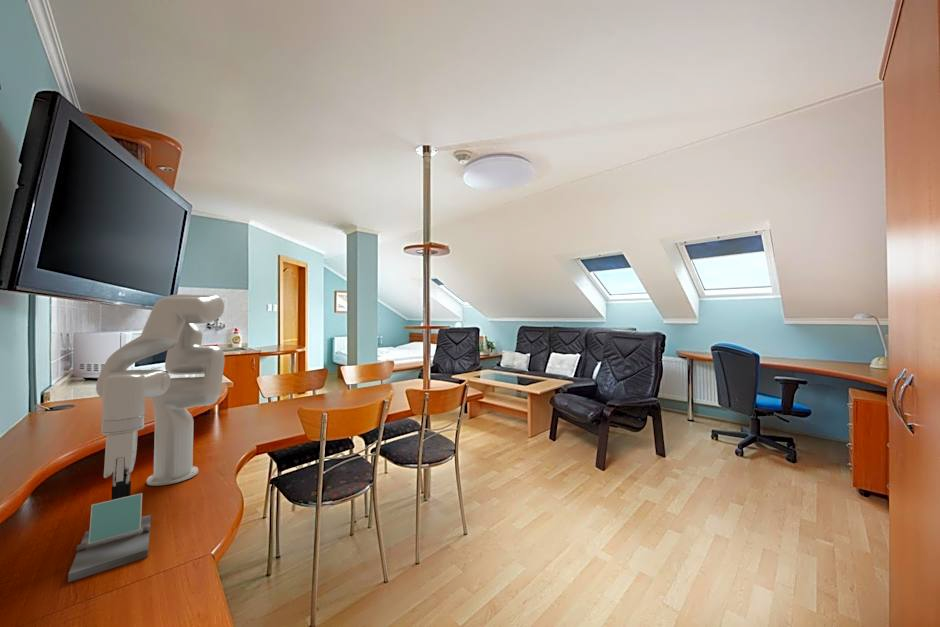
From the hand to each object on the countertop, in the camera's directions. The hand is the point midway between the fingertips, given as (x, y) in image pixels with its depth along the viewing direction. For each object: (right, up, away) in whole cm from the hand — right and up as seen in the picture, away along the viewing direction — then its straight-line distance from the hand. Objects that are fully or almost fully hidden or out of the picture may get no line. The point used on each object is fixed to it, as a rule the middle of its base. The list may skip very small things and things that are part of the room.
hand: (121, 500), depth 85 cm
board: (+8, -5, -9) cm, 13 cm away
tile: (+7, 0, -7) cm, 10 cm away
